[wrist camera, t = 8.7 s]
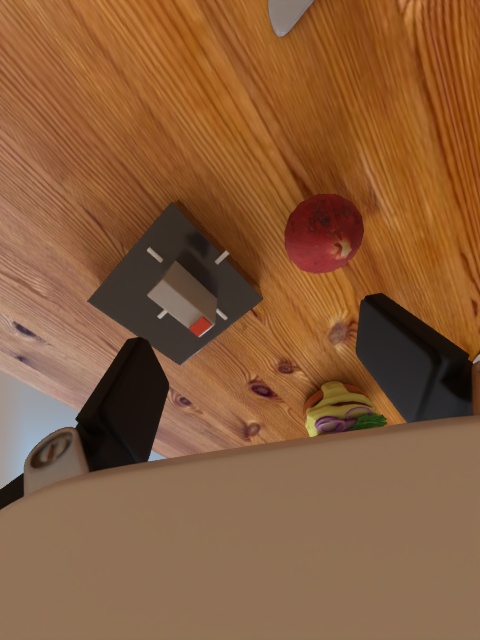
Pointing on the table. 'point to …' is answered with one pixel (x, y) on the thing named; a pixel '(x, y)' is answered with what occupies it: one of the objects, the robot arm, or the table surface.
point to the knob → (185, 299)
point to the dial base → (151, 262)
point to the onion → (323, 233)
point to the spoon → (286, 13)
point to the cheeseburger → (340, 410)
